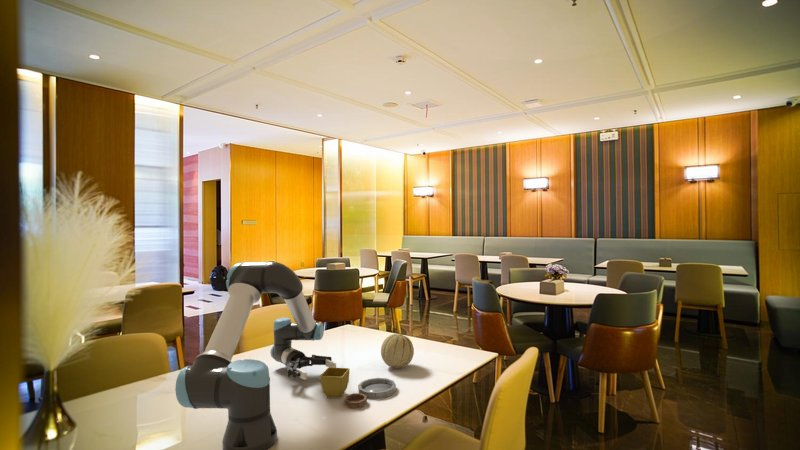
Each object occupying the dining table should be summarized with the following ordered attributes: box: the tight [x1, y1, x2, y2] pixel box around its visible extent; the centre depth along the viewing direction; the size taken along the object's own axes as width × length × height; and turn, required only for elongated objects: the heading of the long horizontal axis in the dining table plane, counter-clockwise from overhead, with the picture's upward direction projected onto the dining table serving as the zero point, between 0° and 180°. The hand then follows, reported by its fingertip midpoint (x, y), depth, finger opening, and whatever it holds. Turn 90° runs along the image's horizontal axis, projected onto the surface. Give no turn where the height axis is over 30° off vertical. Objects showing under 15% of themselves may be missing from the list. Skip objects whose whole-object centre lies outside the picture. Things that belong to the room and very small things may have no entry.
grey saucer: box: [357, 377, 397, 399], centre depth 152 cm, size 14×14×2 cm
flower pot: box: [319, 367, 350, 399], centre depth 148 cm, size 9×9×9 cm
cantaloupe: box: [380, 331, 415, 369], centre depth 176 cm, size 15×15×15 cm
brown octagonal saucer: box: [344, 392, 368, 410], centre depth 141 cm, size 8×8×2 cm
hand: (321, 371), depth 155 cm, fingers open, 13 cm apart
